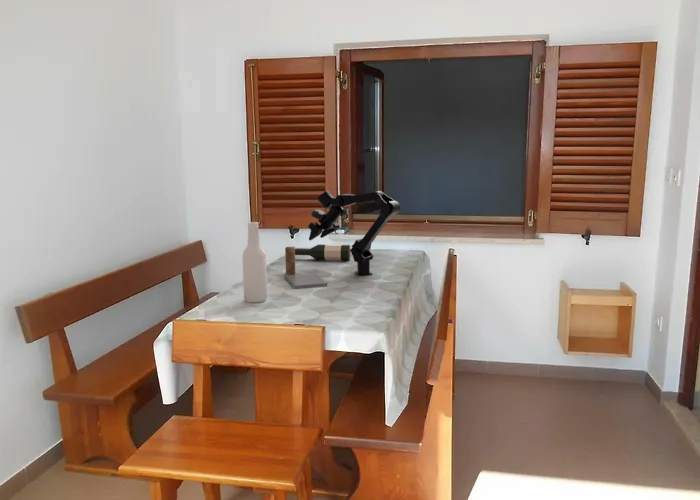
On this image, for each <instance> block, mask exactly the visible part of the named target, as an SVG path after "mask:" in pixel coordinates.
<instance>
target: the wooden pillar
mask: <svg viewBox="0 0 700 500" xmlns="http://www.w3.org/2000/svg"><path fill="white" fill-rule="evenodd" d="M284 249H285V250H284V251H285V256H284V257H285V275H296V255H295V249H296V246H285V248H284Z"/></svg>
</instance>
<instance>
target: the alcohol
mask: <svg viewBox="0 0 700 500" xmlns="http://www.w3.org/2000/svg"><path fill="white" fill-rule="evenodd" d="M259 226H260V225H259V222H257V221H249V222H247V228H248V230H247V244H246V245H247V246H246V248H245V249H244V251H243V252H242V257H241V258H242V279H243V281H242V282H243V300H244V301H245V302H247V303H249V304H258V302H260V303H264V302H265V300H266V301H267V299H268V287H267V286H268V285H267V284H268V281H267V280H268V279H267V255H266V252H265V250H264V248H263V247H262V246H261V241H260V232H259ZM263 301H264V302H263Z"/></svg>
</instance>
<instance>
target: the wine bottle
mask: <svg viewBox="0 0 700 500" xmlns="http://www.w3.org/2000/svg"><path fill="white" fill-rule="evenodd" d="M295 256H310V257H311V258H313V259H315V260H316V261H336V262H337V261H340V262H341V261H344V262H345V261H346V262H349V261H351V245H350V244H320V243H319V244H316V245H315V246H312V247H311V248H295Z"/></svg>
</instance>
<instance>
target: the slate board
mask: <svg viewBox="0 0 700 500" xmlns="http://www.w3.org/2000/svg"><path fill="white" fill-rule="evenodd" d="M284 276H285V277H284V278H285V280H286V281H287V282H288V283H289V284H290V285H291V286H292V288H293V289H307V288H319V287H327V286H328V282H327V281H325V280H324V279H323V278H321V276H319V275H318V273H315V272H314V273H300V274H295V275H286V274H285V275H284Z"/></svg>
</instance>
